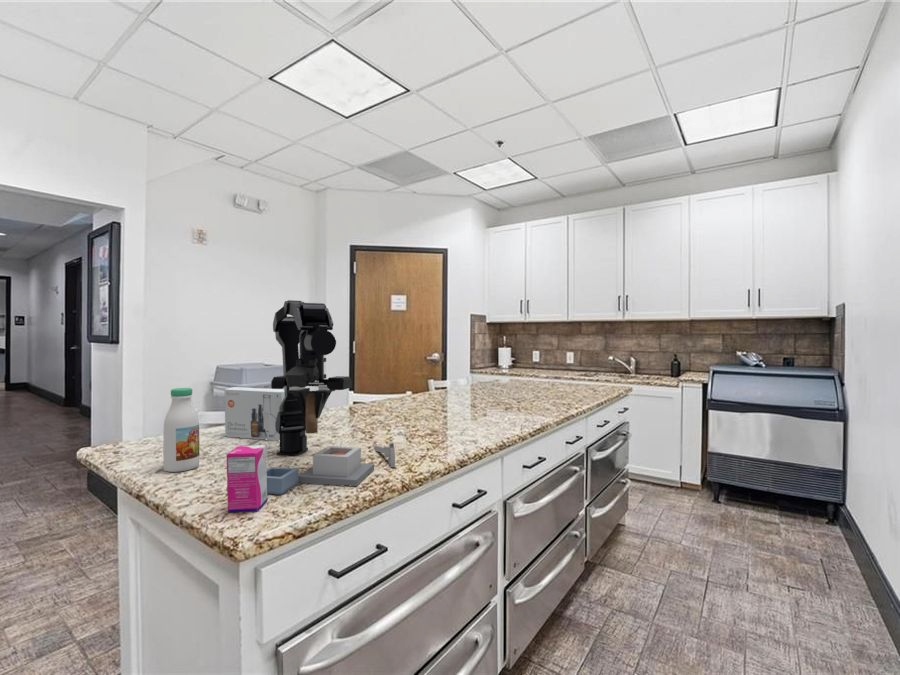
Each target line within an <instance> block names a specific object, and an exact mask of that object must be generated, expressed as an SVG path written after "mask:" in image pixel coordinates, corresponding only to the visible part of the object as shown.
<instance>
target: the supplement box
mask: <svg viewBox="0 0 900 675" xmlns="http://www.w3.org/2000/svg"><path fill="white" fill-rule="evenodd" d="M267 466H268V465H267V445H266V444H260V445H259V444H258V445H257V444H256V445H237V446H236V447H235V448H233V449H232V450H231V451H229V452H227V453H226V483H227V484H226V485H227V486H226V487H227V494H226V495H227V512H228V513H245V512H246V513H247V512H248V513H251V512H252V511H253V513H254V512H255V511H256V512H257V511H258V512H259V511H260V510H259V509H261V508H262V507H263V506H264V505H265V504H266V502H268V494H267V468H268V467H267ZM256 512H255V513H256Z"/></svg>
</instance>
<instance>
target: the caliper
mask: <svg viewBox="0 0 900 675" xmlns="http://www.w3.org/2000/svg"><path fill="white" fill-rule="evenodd" d="M373 448H374V449H375V450H374V449H373V450H374V451H375V452H379V453H381V454H384V457H386V458H387V460H388V467H390V468H391V467H393V468H395V467H396V452H395V451H396V449H395V444H394V442H390V443H389V442H388V445H386V446H383V445H374V447H373Z"/></svg>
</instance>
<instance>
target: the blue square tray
mask: <svg viewBox="0 0 900 675" xmlns="http://www.w3.org/2000/svg"><path fill="white" fill-rule="evenodd" d="M299 469H300V468H296V467H283V466H282V467H279V466H269V467H267V495H271V494H275V495H274V496H283V495H285V494H286V493H288V492H289V491H291V490H292V489H294V488H295V487H296V486H298V485H299V484H300V483H299V475H300V473H299V472H300V470H299ZM297 484H298V485H297ZM294 486H295V487H294ZM291 488H292V489H291ZM288 490H289V491H288ZM284 493H285V494H284Z"/></svg>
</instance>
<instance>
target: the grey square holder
mask: <svg viewBox="0 0 900 675" xmlns="http://www.w3.org/2000/svg"><path fill="white" fill-rule="evenodd" d="M332 453H345V455H334V454H332ZM373 470H374V471H375V464H374V463H363V462H362V447H360V446H359V447H358V446H343V445H342V446H339V445H337V446H336V445H327V446H326V447H325V448H323V449H321V450H319V451H318V452H316V453H314V454H312V467H310V468H308V469H307V470H305V471H303V472H302V473H301V474H299V484H306V483H310V484H309V485H321V484H329V485H328V486H336V485H351V486H357V485H358V484H359V483H360V482H361V481H362V480H363V479H364V478H365V477H366V476H367V475H368V474H369V475H371V474H372V473H373V472H374V471H373ZM369 475H368V476H369ZM368 476H367V477H368ZM367 477H366V478H367ZM366 478H365V479H366ZM365 479H364V480H365ZM364 480H363V481H364ZM363 481H362V482H363ZM362 482H361V483H362ZM361 483H360V484H361ZM360 484H359V485H360ZM359 485H358V486H359ZM351 486H350V487H351ZM358 486H357V487H358Z"/></svg>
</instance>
